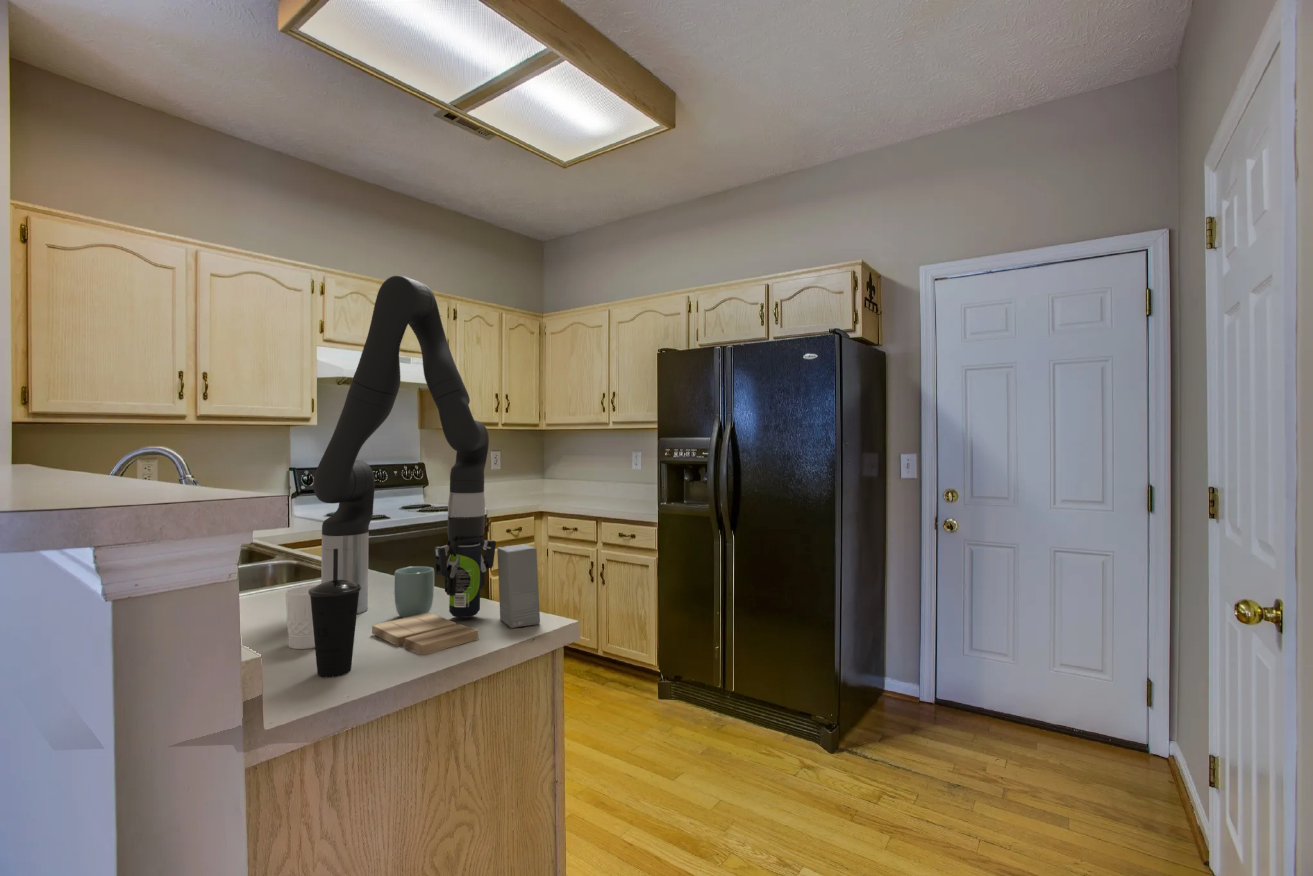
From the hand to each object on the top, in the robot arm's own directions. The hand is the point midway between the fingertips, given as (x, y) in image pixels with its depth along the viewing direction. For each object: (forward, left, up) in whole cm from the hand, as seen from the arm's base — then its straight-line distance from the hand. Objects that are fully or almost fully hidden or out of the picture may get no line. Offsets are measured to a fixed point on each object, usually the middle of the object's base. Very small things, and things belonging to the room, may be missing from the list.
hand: (464, 591), depth 130 cm
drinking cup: (+11, -31, -6) cm, 33 cm away
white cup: (-8, -28, -6) cm, 29 cm away
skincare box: (+10, +6, -6) cm, 13 cm away
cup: (-10, -6, -6) cm, 13 cm away
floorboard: (+11, -12, -6) cm, 17 cm away
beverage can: (0, 0, -5) cm, 5 cm away
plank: (+1, -12, -5) cm, 13 cm away
